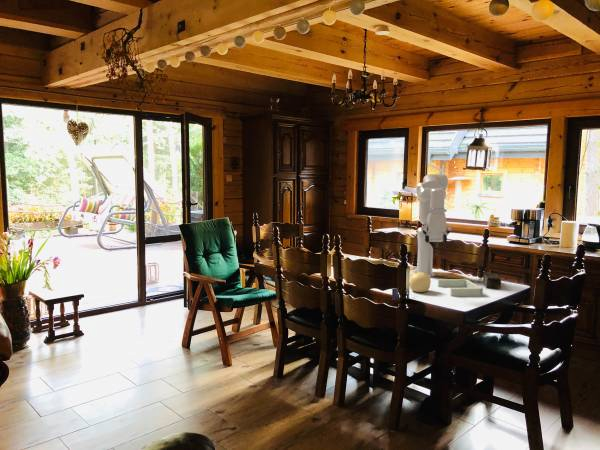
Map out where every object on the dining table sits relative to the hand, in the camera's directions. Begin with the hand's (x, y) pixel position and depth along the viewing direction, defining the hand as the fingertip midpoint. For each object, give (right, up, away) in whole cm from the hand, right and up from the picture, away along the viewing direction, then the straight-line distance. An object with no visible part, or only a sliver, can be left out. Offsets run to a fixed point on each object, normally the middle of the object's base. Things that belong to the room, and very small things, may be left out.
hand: (435, 242), depth 267 cm
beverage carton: (+39, -27, +21) cm, 52 cm away
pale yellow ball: (-7, -28, +6) cm, 29 cm away
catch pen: (+15, -28, +7) cm, 32 cm away
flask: (-22, -30, -11) cm, 39 cm away
